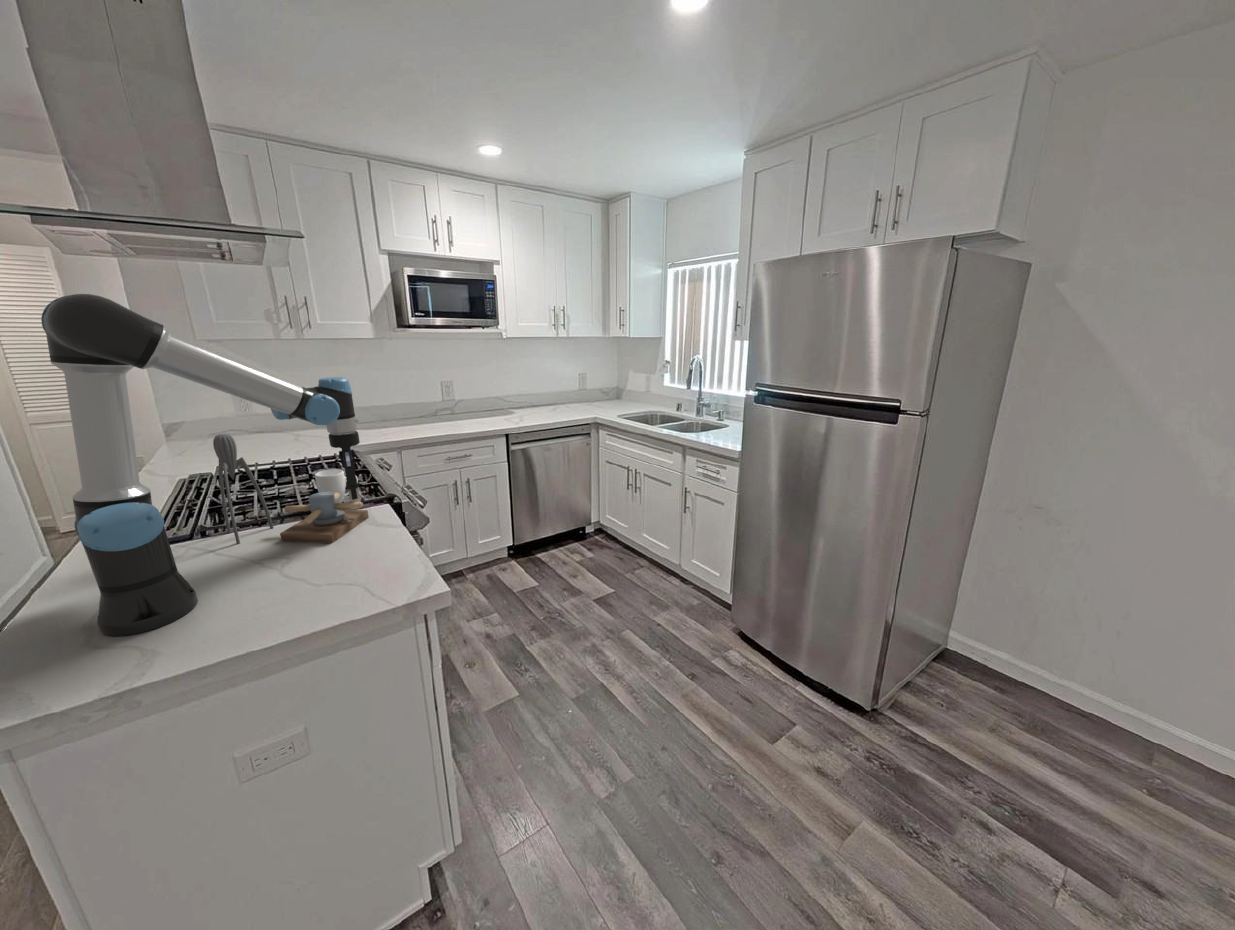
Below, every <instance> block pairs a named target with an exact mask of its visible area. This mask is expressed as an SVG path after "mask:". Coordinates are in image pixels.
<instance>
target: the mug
mask: <svg viewBox="0 0 1235 930" xmlns="http://www.w3.org/2000/svg"><path fill="white" fill-rule="evenodd" d="M314 478H315V479H314V480H315V483H316V489H317V492H318V493H320V492H333V493H339V494H340V497H339V498H338V499H337V500H336V501H335V502H336V503H342V502H343V503H344V499H345V498H346V497H347V496H349V493H348V492H347V493H346V491H347V490H346V489H345V487H347V479H346V475H345V471H344V470H343V469H339V468H332V469H331V468H330V469H325V470H320V471H318V472H316V473H314ZM356 479H357V483H359V479H358V477H357V475H356Z"/></svg>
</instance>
